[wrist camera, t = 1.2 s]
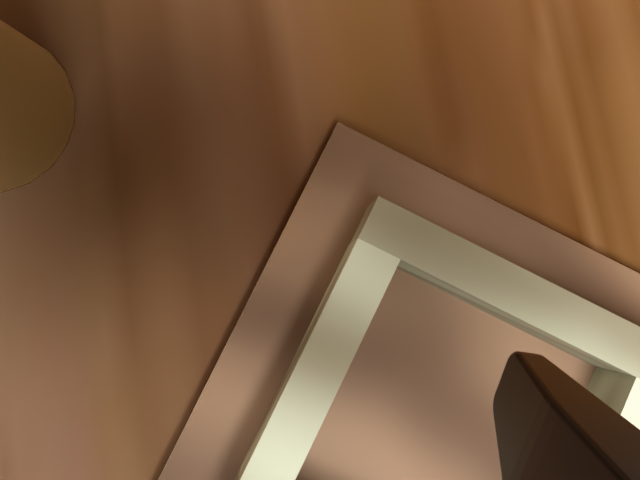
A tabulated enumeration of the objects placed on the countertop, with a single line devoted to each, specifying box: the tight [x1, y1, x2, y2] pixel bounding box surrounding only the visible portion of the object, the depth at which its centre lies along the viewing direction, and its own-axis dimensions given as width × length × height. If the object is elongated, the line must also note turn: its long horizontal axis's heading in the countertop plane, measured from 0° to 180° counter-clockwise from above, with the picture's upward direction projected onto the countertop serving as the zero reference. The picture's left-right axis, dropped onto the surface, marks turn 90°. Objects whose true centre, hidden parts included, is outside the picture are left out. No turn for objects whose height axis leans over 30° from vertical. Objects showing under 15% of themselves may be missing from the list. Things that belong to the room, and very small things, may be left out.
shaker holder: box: [158, 122, 640, 480], centre depth 20 cm, size 16×16×3 cm
